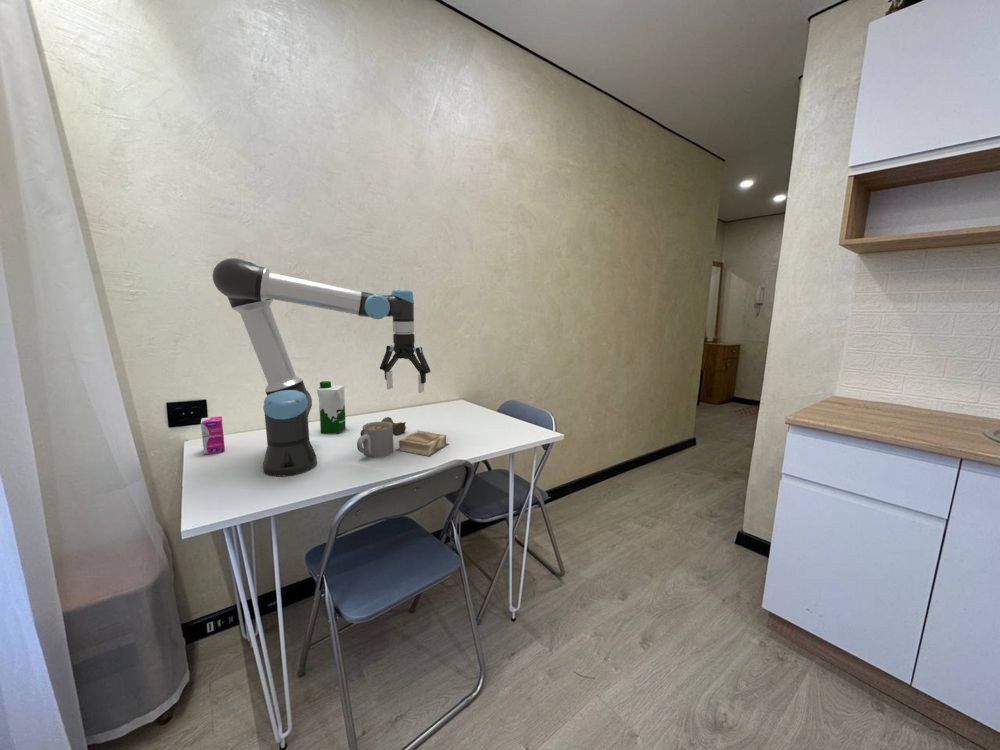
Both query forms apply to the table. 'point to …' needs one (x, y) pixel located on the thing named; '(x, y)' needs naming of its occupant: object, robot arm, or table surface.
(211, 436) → the supplement box
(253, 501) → the table surface
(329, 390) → the milk carton
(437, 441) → the lid
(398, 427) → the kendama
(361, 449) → the coffee mug
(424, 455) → the mat
